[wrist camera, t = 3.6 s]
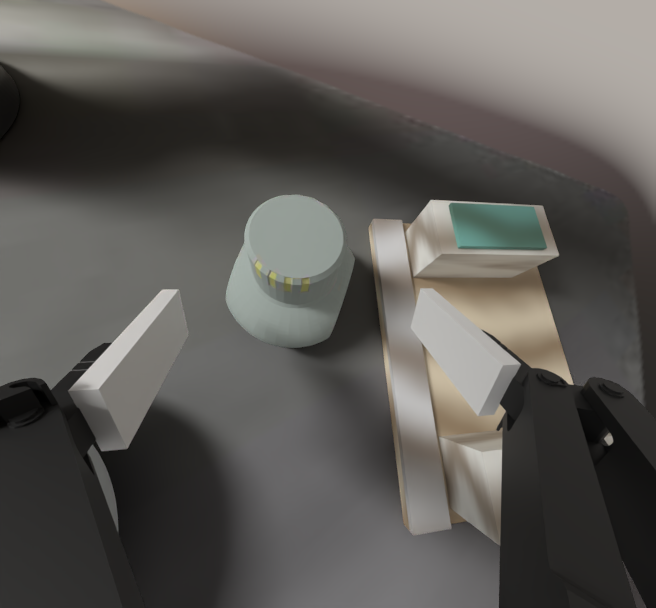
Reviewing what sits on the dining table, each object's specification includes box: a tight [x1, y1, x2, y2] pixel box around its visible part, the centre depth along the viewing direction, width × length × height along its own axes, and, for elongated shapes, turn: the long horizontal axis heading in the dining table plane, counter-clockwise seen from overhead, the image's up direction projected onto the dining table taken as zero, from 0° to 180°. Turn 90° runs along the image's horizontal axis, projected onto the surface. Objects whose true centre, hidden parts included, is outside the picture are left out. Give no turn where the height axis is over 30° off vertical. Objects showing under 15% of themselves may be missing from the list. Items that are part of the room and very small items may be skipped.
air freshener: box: [226, 194, 355, 348], centre depth 20 cm, size 11×8×10 cm
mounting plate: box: [369, 200, 613, 546], centre depth 22 cm, size 26×18×6 cm
